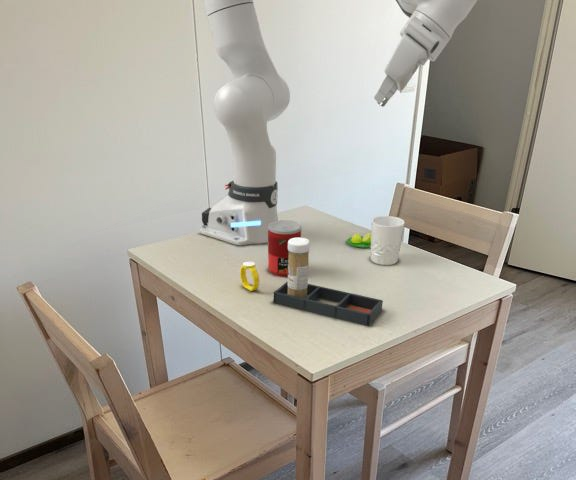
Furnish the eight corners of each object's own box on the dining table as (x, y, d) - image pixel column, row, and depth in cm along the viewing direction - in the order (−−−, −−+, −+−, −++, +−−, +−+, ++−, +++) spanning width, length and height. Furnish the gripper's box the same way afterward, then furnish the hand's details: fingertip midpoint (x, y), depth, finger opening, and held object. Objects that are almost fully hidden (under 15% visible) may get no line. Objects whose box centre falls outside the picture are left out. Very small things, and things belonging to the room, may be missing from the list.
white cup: (390, 268, 146) (394, 228, 140) (362, 260, 149) (365, 221, 144) (405, 259, 151) (410, 220, 145) (378, 251, 155) (382, 213, 149)
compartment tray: (273, 303, 129) (273, 292, 127) (289, 289, 135) (289, 279, 133) (369, 326, 121) (370, 315, 119) (381, 310, 127) (382, 300, 125)
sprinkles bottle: (283, 297, 131) (284, 238, 124) (302, 294, 133) (304, 235, 125) (292, 306, 128) (293, 245, 120) (311, 302, 129) (313, 242, 122)
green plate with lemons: (372, 237, 163) (373, 227, 162) (380, 248, 157) (381, 238, 155) (343, 238, 162) (344, 228, 161) (350, 249, 156) (351, 239, 154)
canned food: (279, 279, 139) (280, 233, 133) (261, 268, 145) (261, 223, 138) (306, 272, 143) (308, 227, 137) (288, 261, 148) (288, 218, 142)
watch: (262, 292, 133) (262, 267, 130) (251, 295, 132) (251, 269, 129) (248, 282, 137) (247, 258, 134) (237, 285, 136) (236, 260, 133)
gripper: (410, 39, 127) (370, 98, 133) (409, 18, 109) (362, 88, 114) (433, 57, 128) (392, 115, 133) (436, 40, 109) (388, 109, 114)
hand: (378, 103), depth 124 cm, fingers open, 8 cm apart
